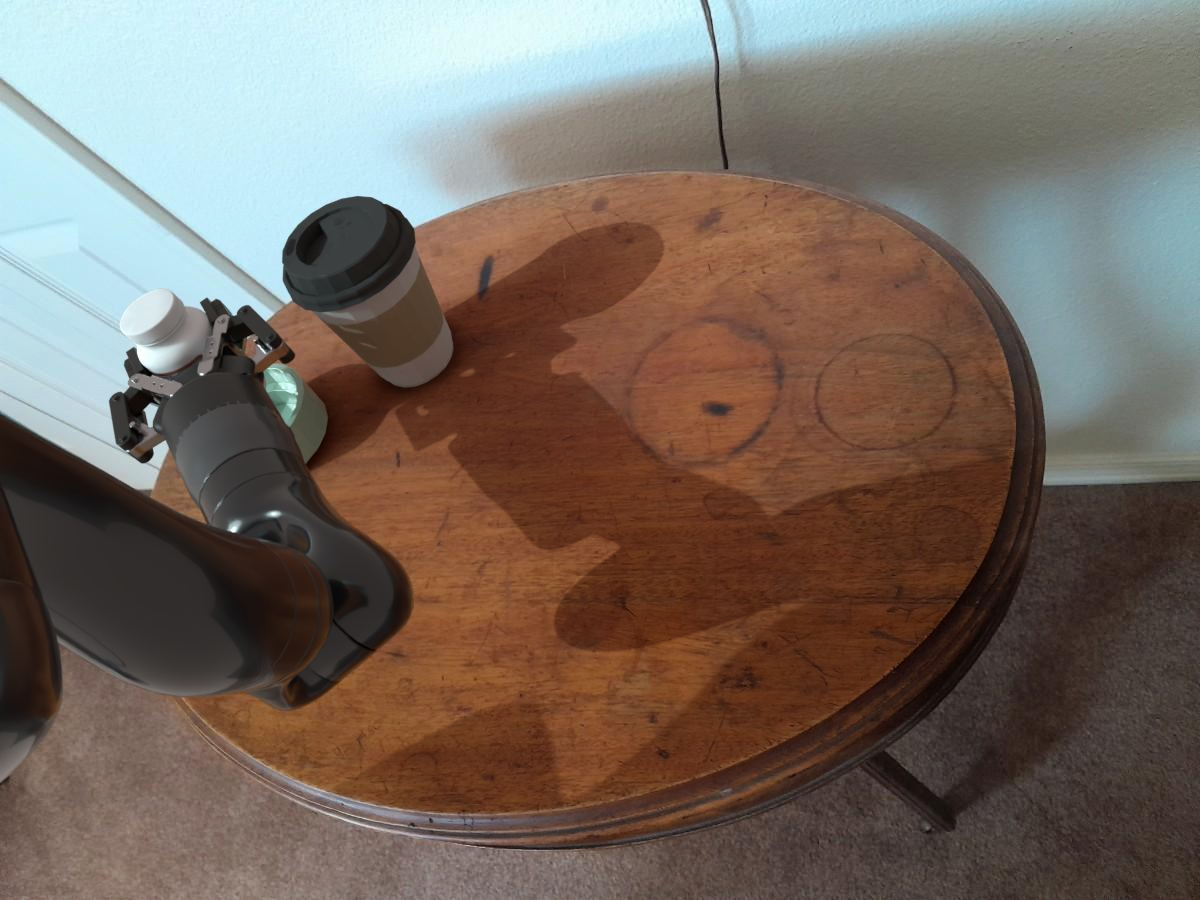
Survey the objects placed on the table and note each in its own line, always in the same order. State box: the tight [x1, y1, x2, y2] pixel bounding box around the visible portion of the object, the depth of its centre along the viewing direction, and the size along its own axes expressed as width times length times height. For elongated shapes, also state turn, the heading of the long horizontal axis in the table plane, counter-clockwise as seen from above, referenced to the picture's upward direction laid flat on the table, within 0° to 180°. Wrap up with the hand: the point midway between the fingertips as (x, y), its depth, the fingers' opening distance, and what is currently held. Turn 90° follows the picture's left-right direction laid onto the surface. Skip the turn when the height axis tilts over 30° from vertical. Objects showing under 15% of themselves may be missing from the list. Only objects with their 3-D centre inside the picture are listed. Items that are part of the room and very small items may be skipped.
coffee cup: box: [281, 195, 454, 388], centre depth 73 cm, size 11×11×15 cm
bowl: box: [263, 363, 329, 464], centre depth 76 cm, size 11×11×4 cm
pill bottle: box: [119, 288, 266, 389], centre depth 69 cm, size 6×6×11 cm
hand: (174, 332), depth 69 cm, fingers closed on pill bottle, 6 cm apart
